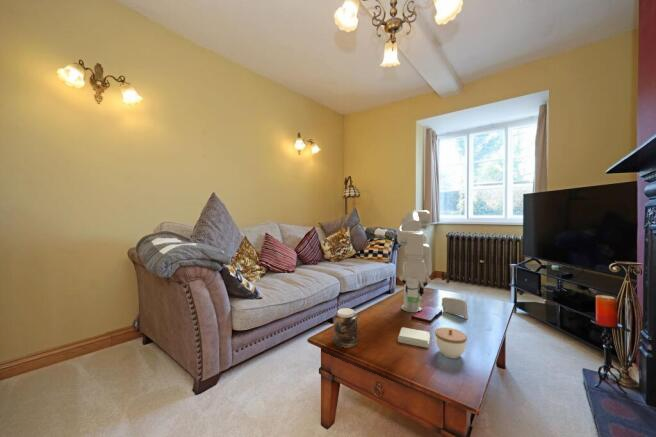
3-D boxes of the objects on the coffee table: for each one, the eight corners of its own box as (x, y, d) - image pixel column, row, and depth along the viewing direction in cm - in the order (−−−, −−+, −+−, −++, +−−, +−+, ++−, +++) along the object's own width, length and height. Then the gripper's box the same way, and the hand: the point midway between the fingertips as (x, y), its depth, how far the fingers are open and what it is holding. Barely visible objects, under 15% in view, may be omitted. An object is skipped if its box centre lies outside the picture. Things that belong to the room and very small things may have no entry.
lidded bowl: (451, 364, 107) (452, 338, 107) (428, 350, 119) (429, 326, 118) (473, 358, 112) (473, 332, 112) (449, 344, 124) (449, 321, 123)
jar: (333, 336, 132) (333, 306, 132) (356, 336, 132) (357, 307, 131) (333, 348, 120) (333, 315, 120) (358, 348, 120) (359, 316, 120)
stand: (401, 332, 136) (401, 326, 136) (430, 337, 131) (430, 331, 130) (397, 341, 126) (397, 335, 126) (428, 348, 120) (428, 341, 120)
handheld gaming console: (445, 313, 167) (468, 318, 154) (442, 314, 165) (466, 319, 153) (443, 296, 168) (466, 299, 155) (440, 296, 166) (463, 300, 154)
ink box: (417, 303, 123) (417, 279, 123) (406, 301, 126) (407, 277, 125) (421, 298, 130) (422, 275, 130) (411, 297, 133) (412, 274, 133)
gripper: (395, 257, 128) (395, 294, 128) (433, 260, 121) (433, 299, 121) (398, 255, 134) (398, 290, 135) (434, 257, 127) (433, 294, 128)
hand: (414, 294), depth 128 cm, fingers closed on ink box, 5 cm apart
